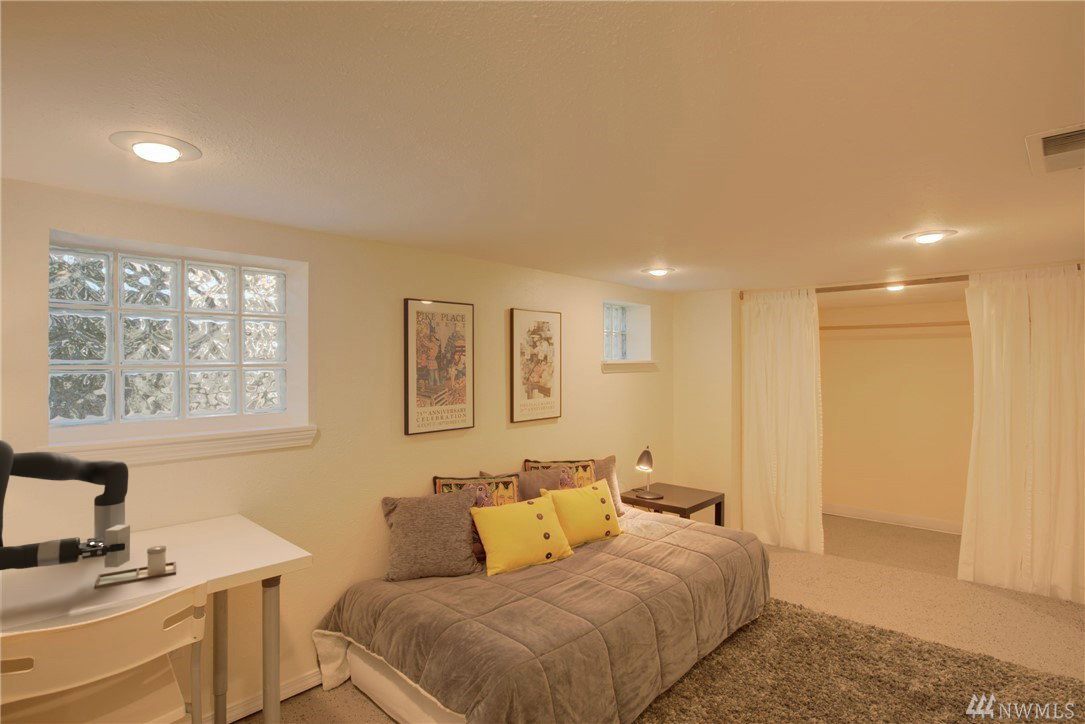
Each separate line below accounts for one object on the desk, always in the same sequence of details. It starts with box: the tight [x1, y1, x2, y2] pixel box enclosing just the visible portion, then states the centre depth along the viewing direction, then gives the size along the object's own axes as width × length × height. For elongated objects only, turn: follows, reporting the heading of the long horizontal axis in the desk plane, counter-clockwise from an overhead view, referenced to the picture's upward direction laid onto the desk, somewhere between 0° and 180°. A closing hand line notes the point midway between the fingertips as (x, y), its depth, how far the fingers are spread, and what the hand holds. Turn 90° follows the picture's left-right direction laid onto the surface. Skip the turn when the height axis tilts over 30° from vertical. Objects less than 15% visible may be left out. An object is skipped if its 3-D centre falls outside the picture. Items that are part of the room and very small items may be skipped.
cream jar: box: [146, 545, 167, 575], centre depth 185 cm, size 5×5×8 cm
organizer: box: [94, 561, 177, 589], centre depth 183 cm, size 11×21×2 cm, turn 124°
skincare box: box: [104, 524, 131, 569], centre depth 179 cm, size 6×4×12 cm
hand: (125, 543), depth 181 cm, fingers closed on skincare box, 7 cm apart
